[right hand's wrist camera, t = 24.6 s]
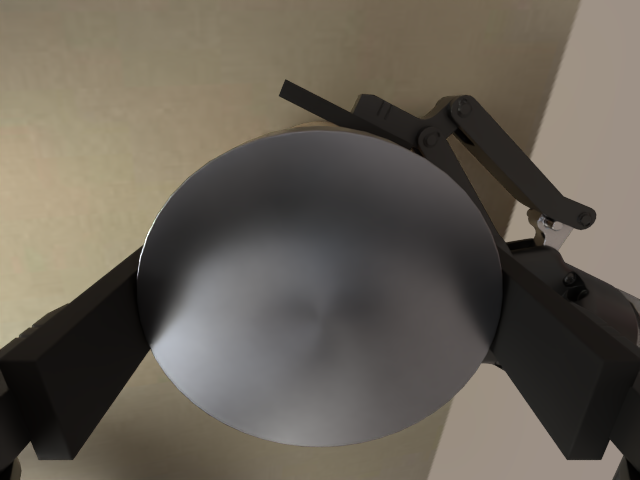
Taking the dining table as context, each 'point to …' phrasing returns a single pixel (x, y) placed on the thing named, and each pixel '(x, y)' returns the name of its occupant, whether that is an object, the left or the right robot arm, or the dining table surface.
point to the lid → (319, 287)
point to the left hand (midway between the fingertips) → (245, 187)
